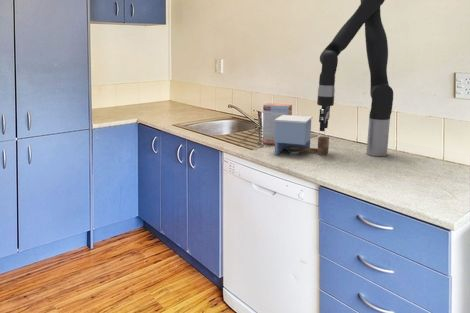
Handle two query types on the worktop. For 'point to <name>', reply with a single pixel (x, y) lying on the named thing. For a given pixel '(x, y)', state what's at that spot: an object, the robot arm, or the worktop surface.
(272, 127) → the cracker box
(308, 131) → the cabinet
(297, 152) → the grey metal dome
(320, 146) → the wooden mallet
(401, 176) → the worktop surface
